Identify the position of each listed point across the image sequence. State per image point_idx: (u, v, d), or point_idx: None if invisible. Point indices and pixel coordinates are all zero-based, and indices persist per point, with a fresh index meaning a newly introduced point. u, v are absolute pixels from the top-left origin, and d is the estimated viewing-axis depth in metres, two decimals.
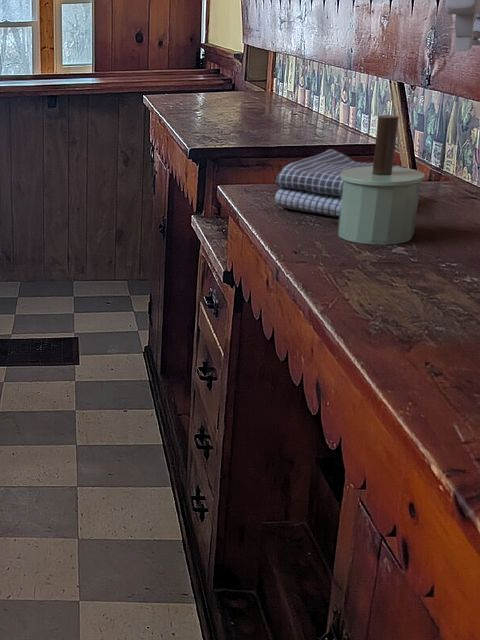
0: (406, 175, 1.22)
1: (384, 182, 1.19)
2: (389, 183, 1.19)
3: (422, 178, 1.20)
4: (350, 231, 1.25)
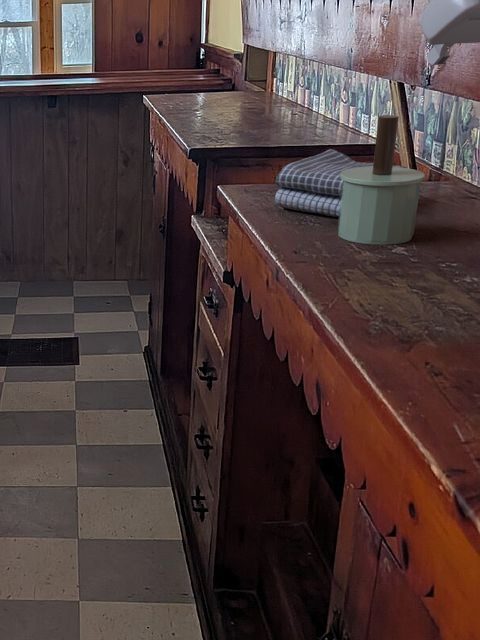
0: (406, 175, 1.22)
1: (384, 182, 1.19)
2: (389, 183, 1.19)
3: (422, 178, 1.20)
4: (350, 231, 1.25)
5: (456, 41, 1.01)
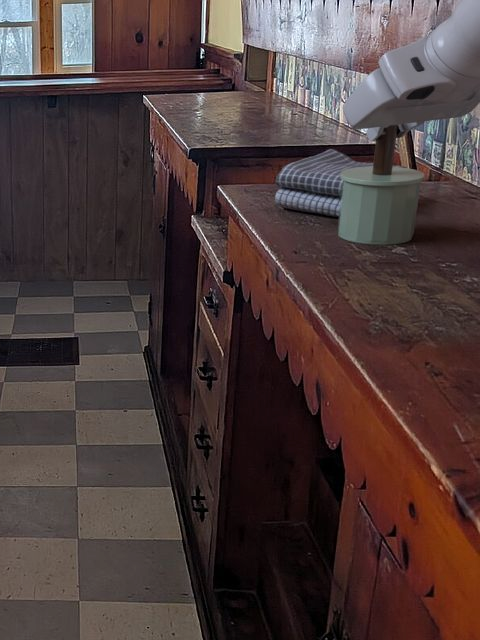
0: (406, 175, 1.22)
1: (384, 182, 1.19)
2: (389, 183, 1.19)
3: (422, 178, 1.20)
4: (350, 231, 1.25)
5: (375, 126, 1.15)
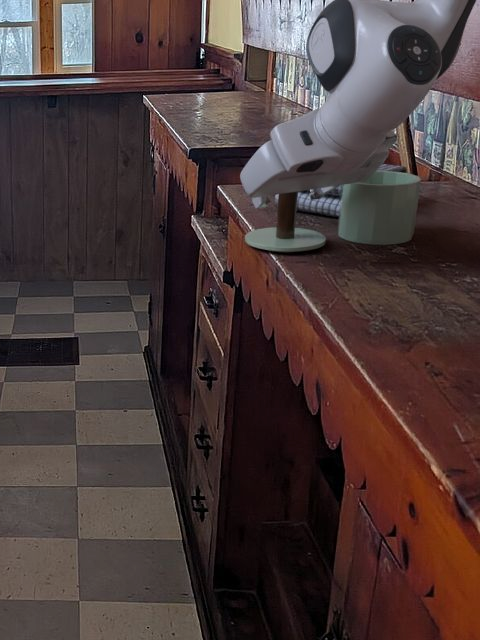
0: (307, 239, 1.23)
1: (283, 248, 1.20)
2: (288, 249, 1.20)
3: (322, 243, 1.22)
4: (350, 231, 1.25)
5: (272, 194, 1.16)
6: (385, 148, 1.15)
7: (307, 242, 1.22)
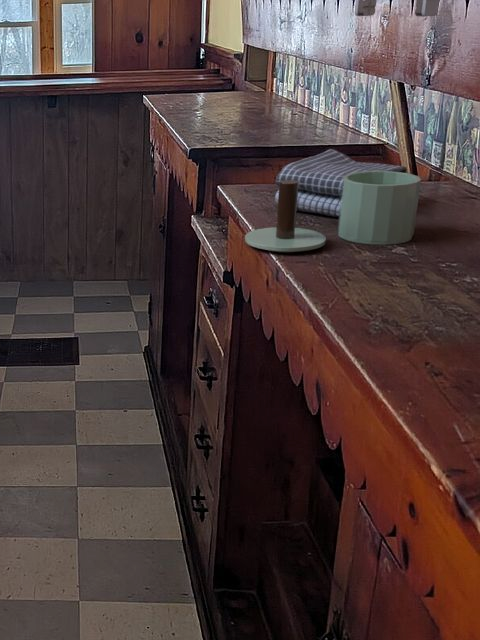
0: (307, 239, 1.23)
1: (283, 248, 1.20)
2: (288, 249, 1.20)
3: (322, 243, 1.22)
4: (350, 231, 1.25)
5: None
6: None
7: (307, 242, 1.22)
